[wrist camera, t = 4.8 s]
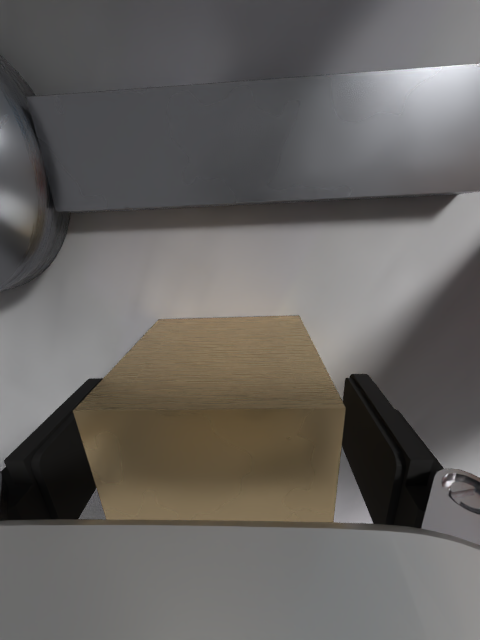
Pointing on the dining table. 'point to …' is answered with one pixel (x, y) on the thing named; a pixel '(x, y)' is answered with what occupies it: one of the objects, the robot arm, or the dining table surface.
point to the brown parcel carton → (216, 424)
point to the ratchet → (227, 148)
